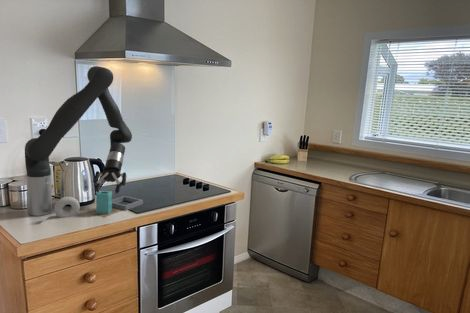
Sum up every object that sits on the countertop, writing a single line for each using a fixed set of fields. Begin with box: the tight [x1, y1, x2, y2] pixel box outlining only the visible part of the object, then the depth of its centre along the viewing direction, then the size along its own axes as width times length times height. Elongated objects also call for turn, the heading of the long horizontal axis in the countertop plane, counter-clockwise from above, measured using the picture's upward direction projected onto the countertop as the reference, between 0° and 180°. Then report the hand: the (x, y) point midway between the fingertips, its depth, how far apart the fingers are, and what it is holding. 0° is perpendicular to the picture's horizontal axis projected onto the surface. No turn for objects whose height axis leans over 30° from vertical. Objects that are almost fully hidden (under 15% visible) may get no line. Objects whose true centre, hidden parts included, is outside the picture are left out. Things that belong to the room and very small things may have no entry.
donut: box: [54, 196, 81, 218], centre depth 150 cm, size 10×4×10 cm, turn 124°
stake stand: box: [88, 208, 121, 218], centre depth 157 cm, size 10×10×6 cm
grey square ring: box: [112, 195, 144, 211], centre depth 169 cm, size 12×12×4 cm
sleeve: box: [95, 190, 113, 214], centre depth 157 cm, size 5×5×9 cm
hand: (106, 192), depth 160 cm, fingers open, 8 cm apart
